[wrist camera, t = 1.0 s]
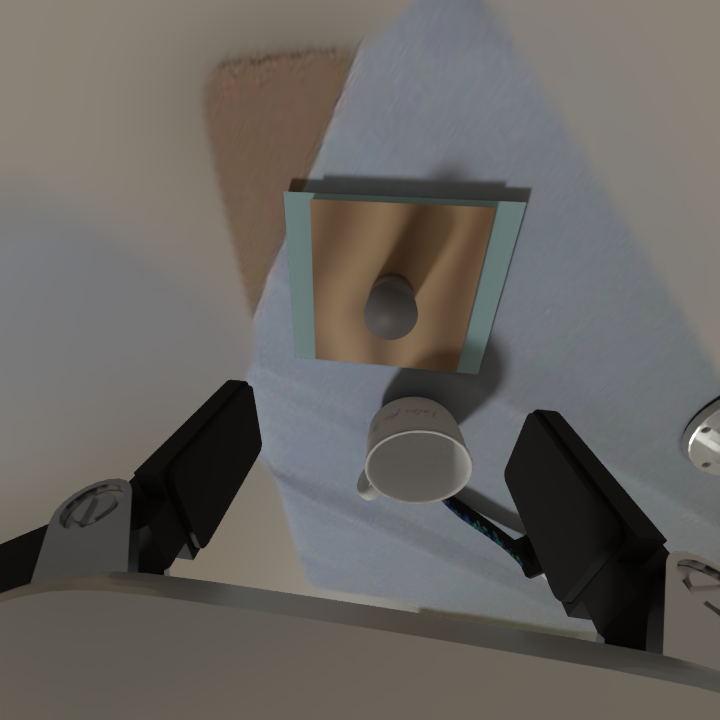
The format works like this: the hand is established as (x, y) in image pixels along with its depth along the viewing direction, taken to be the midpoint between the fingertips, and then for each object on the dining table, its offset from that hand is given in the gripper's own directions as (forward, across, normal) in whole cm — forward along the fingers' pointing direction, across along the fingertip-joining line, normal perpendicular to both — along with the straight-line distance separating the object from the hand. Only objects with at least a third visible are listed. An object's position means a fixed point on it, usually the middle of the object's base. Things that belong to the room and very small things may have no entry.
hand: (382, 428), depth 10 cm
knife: (+20, -21, +35) cm, 46 cm away
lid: (+19, 0, 0) cm, 19 cm away
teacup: (+20, -3, +17) cm, 27 cm away
